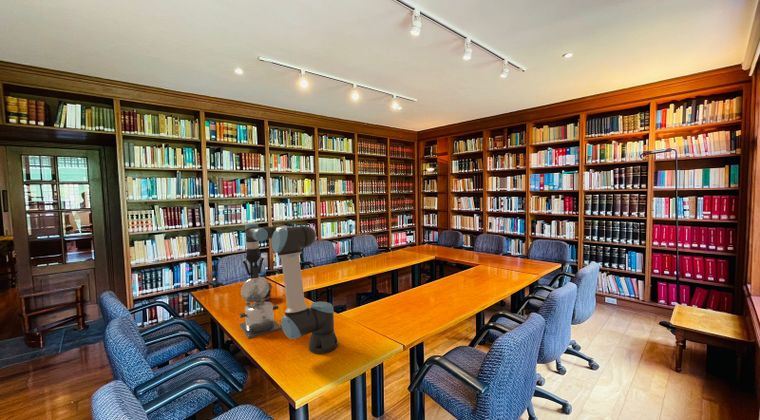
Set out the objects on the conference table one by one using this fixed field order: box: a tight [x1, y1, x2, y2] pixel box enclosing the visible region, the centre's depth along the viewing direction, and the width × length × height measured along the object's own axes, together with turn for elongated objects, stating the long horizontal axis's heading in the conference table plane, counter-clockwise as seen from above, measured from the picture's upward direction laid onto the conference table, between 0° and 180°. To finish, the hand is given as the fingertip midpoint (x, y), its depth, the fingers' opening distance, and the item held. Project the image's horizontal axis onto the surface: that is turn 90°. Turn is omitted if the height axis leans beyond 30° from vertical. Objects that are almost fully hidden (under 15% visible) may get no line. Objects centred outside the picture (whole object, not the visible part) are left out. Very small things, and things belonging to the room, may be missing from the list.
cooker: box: [238, 299, 283, 340], centre depth 188 cm, size 22×22×14 cm
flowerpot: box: [256, 274, 273, 303], centre depth 236 cm, size 14×15×20 cm
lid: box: [240, 264, 269, 303], centre depth 192 cm, size 24×17×4 cm
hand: (254, 285), depth 194 cm, fingers closed
